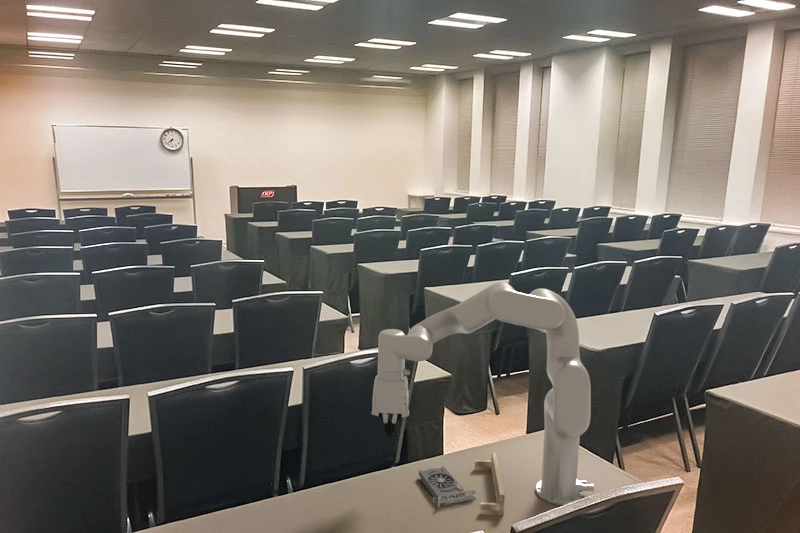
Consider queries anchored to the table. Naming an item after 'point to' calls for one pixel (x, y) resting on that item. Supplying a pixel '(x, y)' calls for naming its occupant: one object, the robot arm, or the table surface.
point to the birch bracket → (499, 492)
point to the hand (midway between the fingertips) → (389, 434)
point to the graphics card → (444, 487)
